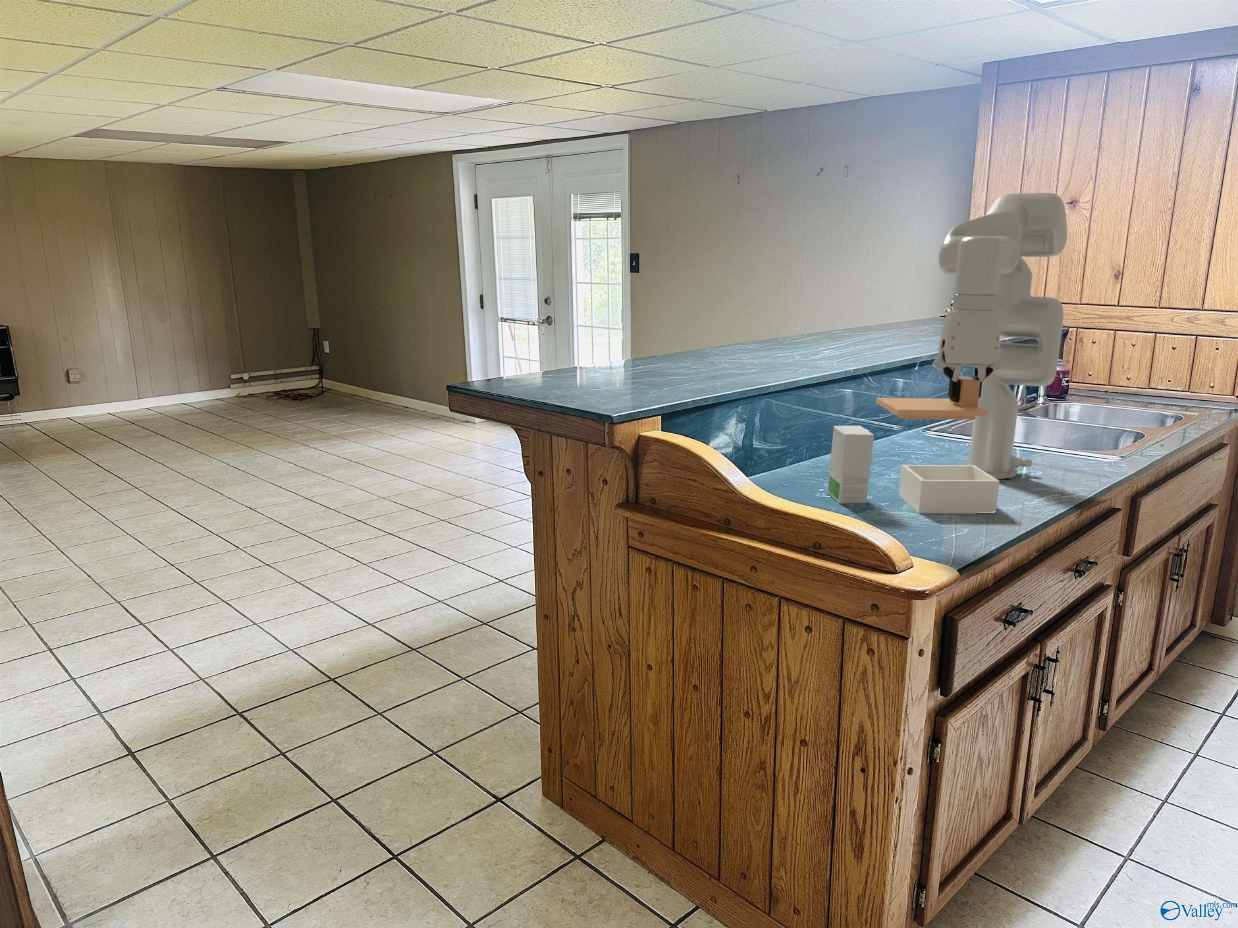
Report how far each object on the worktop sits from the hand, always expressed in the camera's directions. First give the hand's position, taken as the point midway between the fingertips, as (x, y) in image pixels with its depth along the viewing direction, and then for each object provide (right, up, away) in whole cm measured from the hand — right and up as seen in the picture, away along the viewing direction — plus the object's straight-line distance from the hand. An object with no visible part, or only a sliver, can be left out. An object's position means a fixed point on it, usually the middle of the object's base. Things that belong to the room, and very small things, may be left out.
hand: (963, 400), depth 165 cm
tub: (+4, -21, +19) cm, 29 cm away
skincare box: (-16, -20, +23) cm, 35 cm away
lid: (-6, -2, 0) cm, 7 cm away
